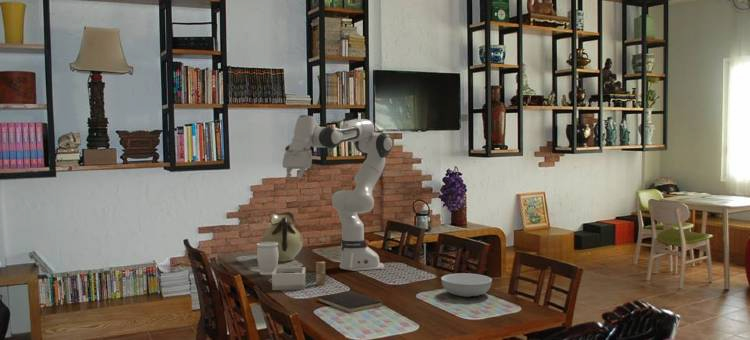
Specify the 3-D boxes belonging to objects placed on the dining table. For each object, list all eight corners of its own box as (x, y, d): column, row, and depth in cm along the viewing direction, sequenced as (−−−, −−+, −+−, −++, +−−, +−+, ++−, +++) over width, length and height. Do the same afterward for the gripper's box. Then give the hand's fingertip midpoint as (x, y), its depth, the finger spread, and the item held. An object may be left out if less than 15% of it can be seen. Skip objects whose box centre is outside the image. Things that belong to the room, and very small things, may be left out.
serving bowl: (460, 303, 259) (460, 286, 259) (431, 292, 278) (431, 276, 277) (502, 296, 269) (502, 280, 268) (472, 286, 287) (471, 271, 287)
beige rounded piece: (282, 254, 372) (281, 210, 370) (313, 258, 358) (312, 213, 356) (253, 261, 354) (252, 215, 352) (285, 265, 340) (284, 218, 338)
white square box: (305, 282, 300) (305, 267, 299) (304, 289, 286) (304, 273, 285) (274, 283, 299) (274, 267, 298) (272, 290, 285) (271, 274, 285)
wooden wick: (325, 283, 296) (325, 261, 296) (325, 284, 294) (325, 262, 294) (316, 283, 296) (316, 261, 296) (316, 284, 294) (316, 262, 294)
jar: (274, 276, 313) (273, 245, 312) (254, 275, 315) (253, 244, 314) (281, 271, 324) (281, 241, 323) (262, 271, 326) (261, 241, 325)
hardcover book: (349, 314, 247) (349, 308, 247) (317, 302, 266) (317, 296, 266) (383, 307, 257) (383, 301, 257) (350, 296, 275) (350, 290, 275)
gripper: (317, 149, 296) (311, 179, 294) (294, 151, 312) (288, 179, 310) (306, 146, 292) (299, 176, 290) (283, 147, 308) (277, 176, 306)
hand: (293, 177), depth 300 cm, fingers open, 8 cm apart
